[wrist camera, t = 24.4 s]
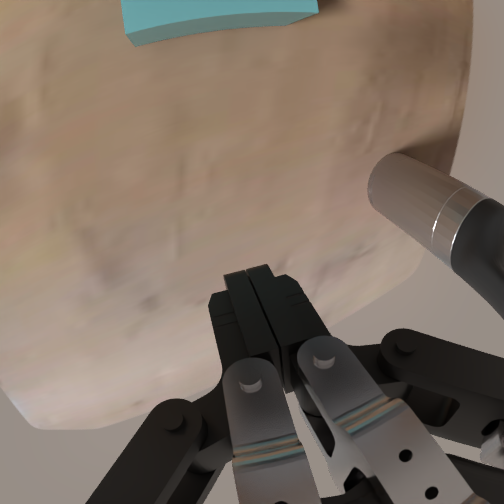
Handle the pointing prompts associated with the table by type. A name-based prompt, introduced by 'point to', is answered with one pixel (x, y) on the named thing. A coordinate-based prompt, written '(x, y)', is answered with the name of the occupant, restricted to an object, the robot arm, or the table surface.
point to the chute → (206, 16)
